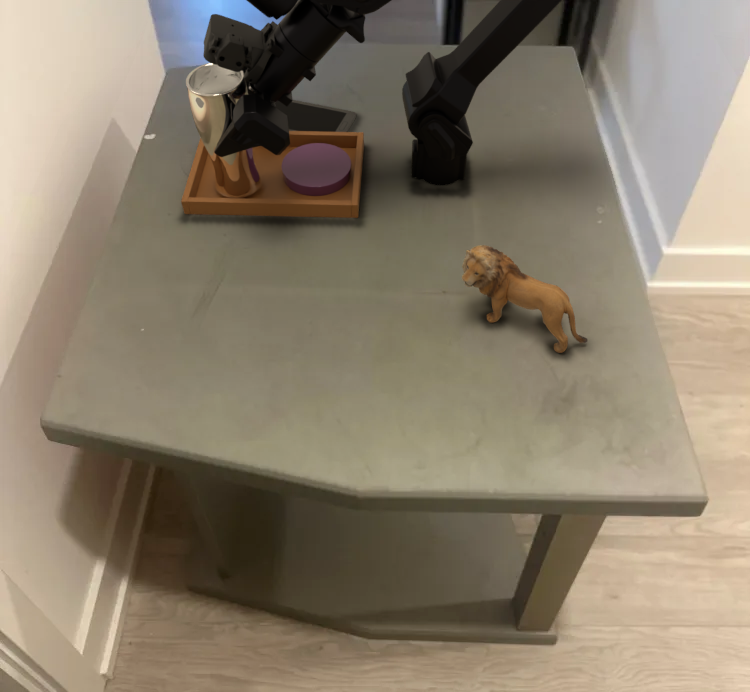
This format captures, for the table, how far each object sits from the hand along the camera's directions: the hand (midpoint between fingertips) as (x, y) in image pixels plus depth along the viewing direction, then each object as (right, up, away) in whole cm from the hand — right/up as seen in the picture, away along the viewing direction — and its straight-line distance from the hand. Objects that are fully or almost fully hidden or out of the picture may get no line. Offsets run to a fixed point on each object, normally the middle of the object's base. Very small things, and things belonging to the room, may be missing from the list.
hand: (217, 136), depth 89 cm
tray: (+6, -4, +8) cm, 11 cm away
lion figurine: (+34, -23, -7) cm, 42 cm away
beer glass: (+1, -4, +6) cm, 8 cm away
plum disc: (+11, -3, +8) cm, 14 cm away
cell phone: (+9, +6, +16) cm, 19 cm away
